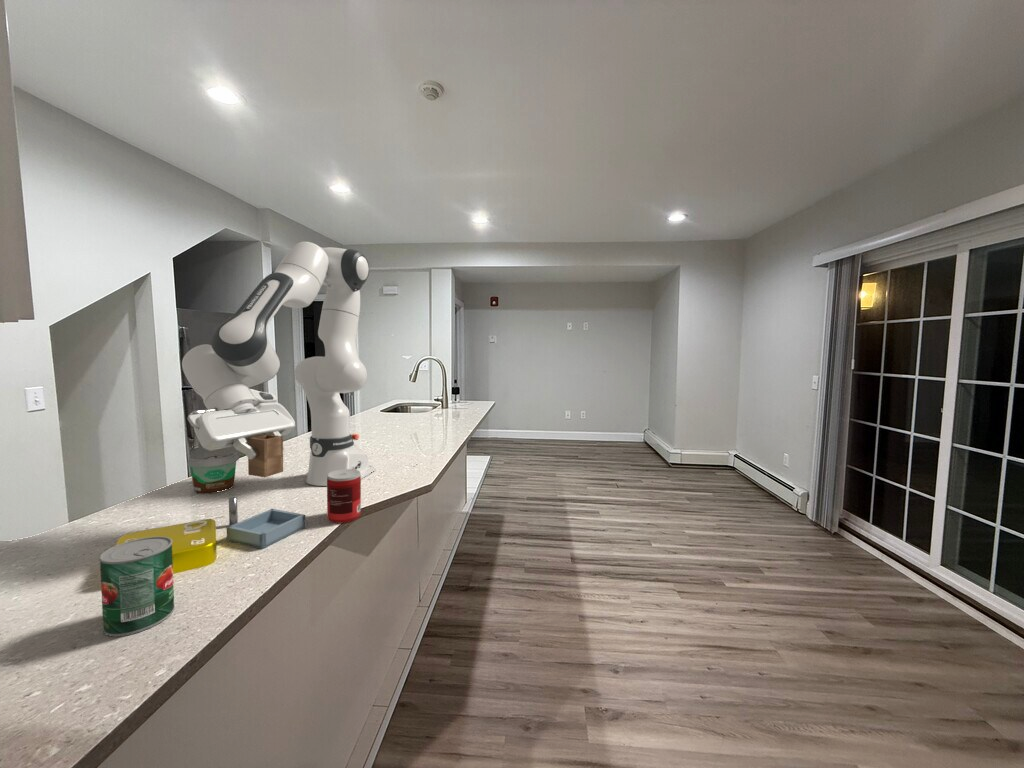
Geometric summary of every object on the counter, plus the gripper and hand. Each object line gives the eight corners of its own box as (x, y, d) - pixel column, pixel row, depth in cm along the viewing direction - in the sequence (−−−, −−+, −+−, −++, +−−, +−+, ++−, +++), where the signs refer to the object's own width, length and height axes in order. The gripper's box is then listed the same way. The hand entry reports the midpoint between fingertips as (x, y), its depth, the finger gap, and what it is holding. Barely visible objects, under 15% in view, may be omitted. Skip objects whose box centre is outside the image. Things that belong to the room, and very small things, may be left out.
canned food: (352, 508, 103) (352, 467, 103) (366, 517, 98) (366, 474, 97) (322, 516, 98) (321, 472, 97) (334, 526, 92) (334, 480, 92)
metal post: (234, 523, 93) (233, 496, 92) (239, 524, 92) (238, 497, 92) (227, 526, 91) (226, 498, 91) (232, 527, 91) (232, 499, 90)
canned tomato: (91, 626, 58) (87, 553, 57) (157, 597, 65) (155, 532, 64) (119, 644, 54) (116, 567, 54) (186, 610, 62) (183, 542, 61)
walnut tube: (267, 469, 90) (267, 434, 89) (283, 471, 88) (282, 436, 88) (248, 474, 85) (247, 438, 85) (264, 477, 84) (264, 440, 83)
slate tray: (272, 520, 95) (272, 508, 94) (305, 527, 92) (305, 514, 91) (226, 540, 84) (226, 527, 84) (262, 549, 81) (262, 535, 81)
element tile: (121, 555, 78) (119, 531, 78) (215, 535, 87) (215, 514, 87) (105, 592, 66) (103, 565, 66) (216, 565, 75) (216, 541, 75)
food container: (194, 498, 107) (193, 462, 106) (187, 493, 111) (186, 458, 110) (246, 487, 117) (245, 454, 116) (238, 482, 121) (237, 450, 120)
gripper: (191, 401, 78) (228, 455, 76) (280, 393, 97) (312, 436, 95) (176, 422, 80) (212, 475, 77) (266, 410, 99) (297, 452, 97)
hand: (268, 453), depth 86 cm, fingers closed on walnut tube, 5 cm apart
